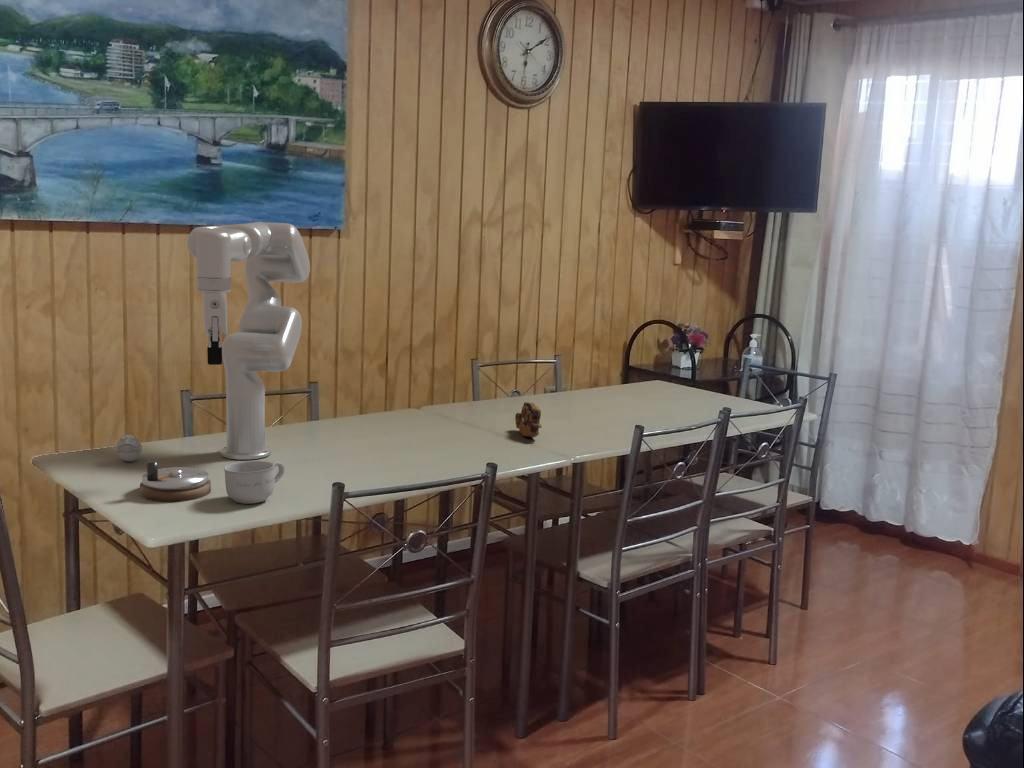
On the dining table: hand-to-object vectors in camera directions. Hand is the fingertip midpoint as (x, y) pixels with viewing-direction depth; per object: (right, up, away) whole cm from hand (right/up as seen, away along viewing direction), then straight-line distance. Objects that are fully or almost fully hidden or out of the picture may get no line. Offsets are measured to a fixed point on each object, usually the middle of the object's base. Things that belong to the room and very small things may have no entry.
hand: (214, 363), depth 230 cm
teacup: (+12, -30, -11) cm, 35 cm away
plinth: (-6, -29, -8) cm, 31 cm away
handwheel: (-6, -27, -9) cm, 29 cm away
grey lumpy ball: (-25, -24, +14) cm, 38 cm away
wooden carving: (+73, -20, +59) cm, 97 cm away
